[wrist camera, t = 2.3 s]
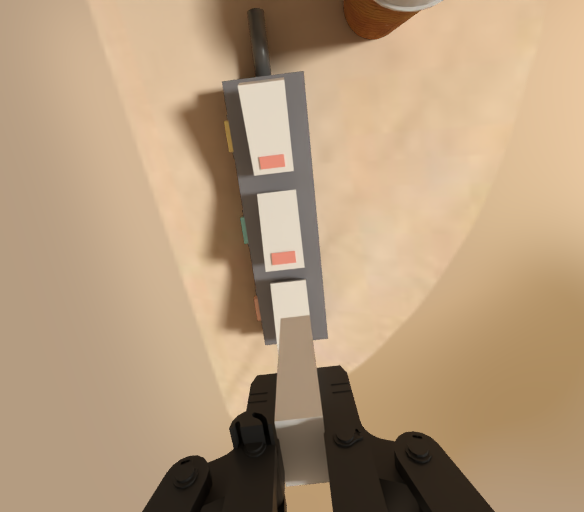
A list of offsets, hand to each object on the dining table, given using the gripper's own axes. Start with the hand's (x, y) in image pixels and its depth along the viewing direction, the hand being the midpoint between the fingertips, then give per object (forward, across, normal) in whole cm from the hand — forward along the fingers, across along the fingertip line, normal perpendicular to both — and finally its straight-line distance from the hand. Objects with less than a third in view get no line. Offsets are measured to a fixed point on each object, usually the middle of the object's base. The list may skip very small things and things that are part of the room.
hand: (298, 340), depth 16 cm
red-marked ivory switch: (+17, -1, +12) cm, 21 cm away
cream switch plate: (+18, -1, +2) cm, 18 cm away
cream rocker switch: (+18, -1, -8) cm, 19 cm away
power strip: (+23, -1, +5) cm, 24 cm away
